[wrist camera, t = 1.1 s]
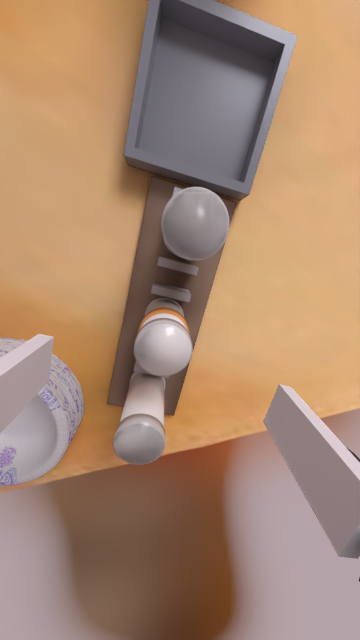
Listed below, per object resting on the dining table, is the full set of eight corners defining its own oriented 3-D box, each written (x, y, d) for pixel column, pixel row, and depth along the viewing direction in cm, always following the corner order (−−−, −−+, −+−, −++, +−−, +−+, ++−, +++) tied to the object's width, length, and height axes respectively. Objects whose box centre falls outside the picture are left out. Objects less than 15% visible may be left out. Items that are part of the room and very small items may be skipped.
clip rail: (108, 401, 30) (100, 420, 27) (151, 178, 23) (149, 165, 19) (173, 412, 31) (174, 432, 28) (234, 203, 24) (246, 196, 21)
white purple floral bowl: (-17, 433, 31) (-78, 494, 23) (-48, 327, 26) (-135, 358, 19) (98, 430, 31) (76, 487, 24) (87, 327, 27) (56, 356, 19)
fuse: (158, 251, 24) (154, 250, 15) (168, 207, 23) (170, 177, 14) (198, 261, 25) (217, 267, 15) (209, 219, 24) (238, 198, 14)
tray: (128, 165, 22) (123, 155, 20) (154, 8, 19) (153, -26, 17) (240, 200, 24) (249, 194, 22) (282, 60, 21) (297, 35, 18)
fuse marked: (141, 328, 27) (127, 370, 17) (149, 291, 26) (139, 315, 16) (178, 336, 27) (184, 381, 18) (187, 301, 26) (200, 329, 17)
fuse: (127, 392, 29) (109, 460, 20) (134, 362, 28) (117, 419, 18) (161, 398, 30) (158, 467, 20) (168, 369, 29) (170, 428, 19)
